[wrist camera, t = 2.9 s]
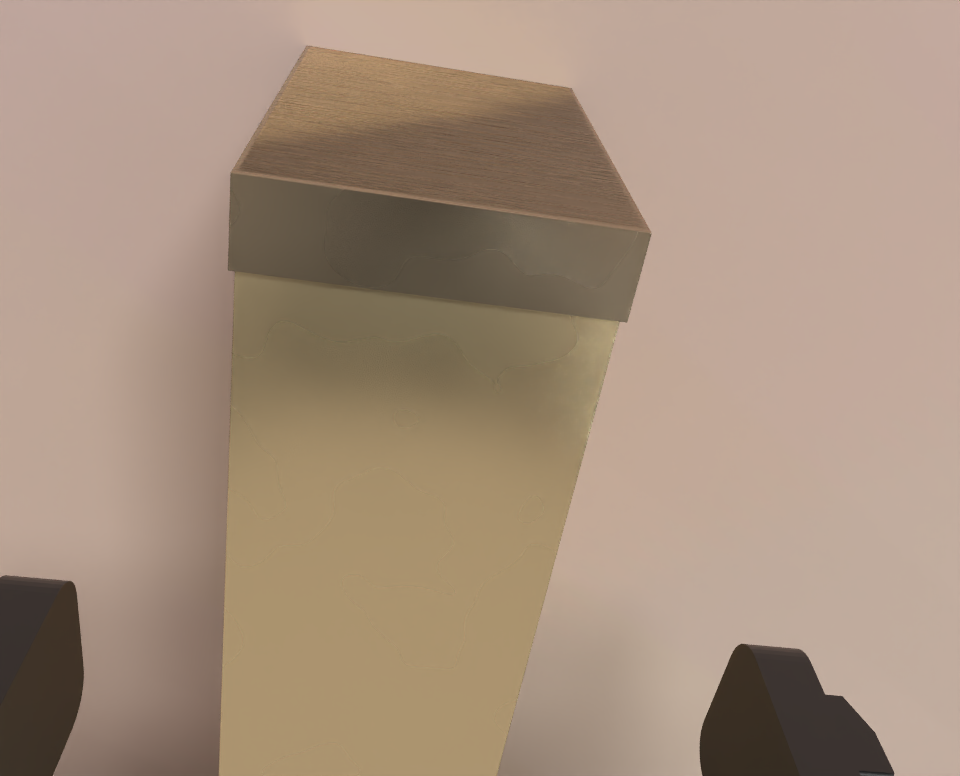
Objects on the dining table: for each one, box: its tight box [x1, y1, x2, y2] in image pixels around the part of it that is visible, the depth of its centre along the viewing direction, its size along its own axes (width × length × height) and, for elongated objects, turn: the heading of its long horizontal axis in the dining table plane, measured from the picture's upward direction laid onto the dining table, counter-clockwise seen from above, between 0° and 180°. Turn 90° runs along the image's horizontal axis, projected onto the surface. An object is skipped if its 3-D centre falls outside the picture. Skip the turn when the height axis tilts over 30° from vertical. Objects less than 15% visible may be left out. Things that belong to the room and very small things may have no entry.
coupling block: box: [219, 46, 652, 776], centre depth 14 cm, size 12×4×6 cm, turn 171°
